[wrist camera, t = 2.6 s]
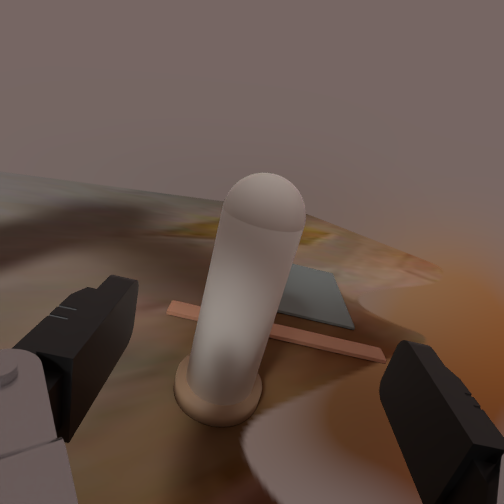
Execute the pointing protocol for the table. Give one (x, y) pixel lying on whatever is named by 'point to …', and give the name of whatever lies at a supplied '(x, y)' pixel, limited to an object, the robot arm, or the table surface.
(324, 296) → the mat
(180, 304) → the distance line
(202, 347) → the skittle
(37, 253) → the table surface
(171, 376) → the table surface
